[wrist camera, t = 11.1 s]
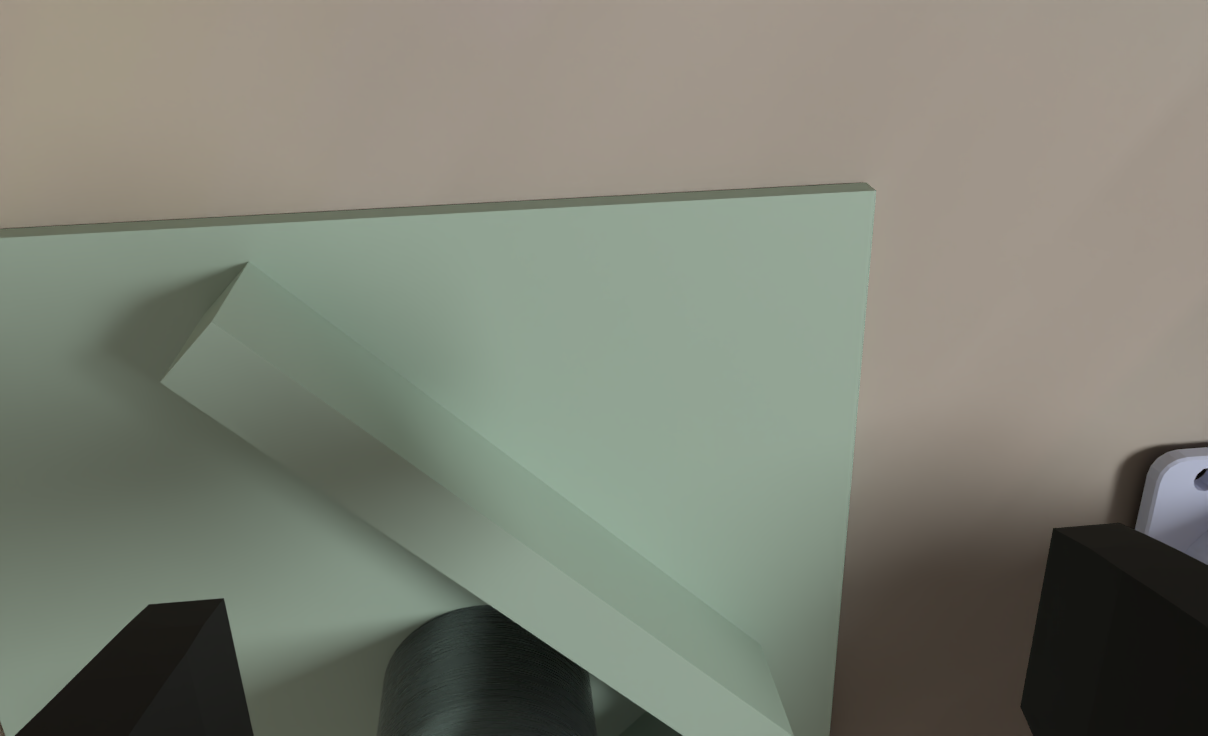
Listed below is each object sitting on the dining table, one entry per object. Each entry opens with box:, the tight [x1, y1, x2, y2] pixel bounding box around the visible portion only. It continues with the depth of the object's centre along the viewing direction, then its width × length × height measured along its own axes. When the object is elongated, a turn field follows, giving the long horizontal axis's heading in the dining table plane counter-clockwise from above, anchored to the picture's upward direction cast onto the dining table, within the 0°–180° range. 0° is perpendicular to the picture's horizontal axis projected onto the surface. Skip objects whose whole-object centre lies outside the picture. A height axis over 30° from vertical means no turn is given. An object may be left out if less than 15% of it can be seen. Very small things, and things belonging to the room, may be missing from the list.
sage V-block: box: [0, 183, 876, 736], centre depth 19 cm, size 16×19×3 cm
